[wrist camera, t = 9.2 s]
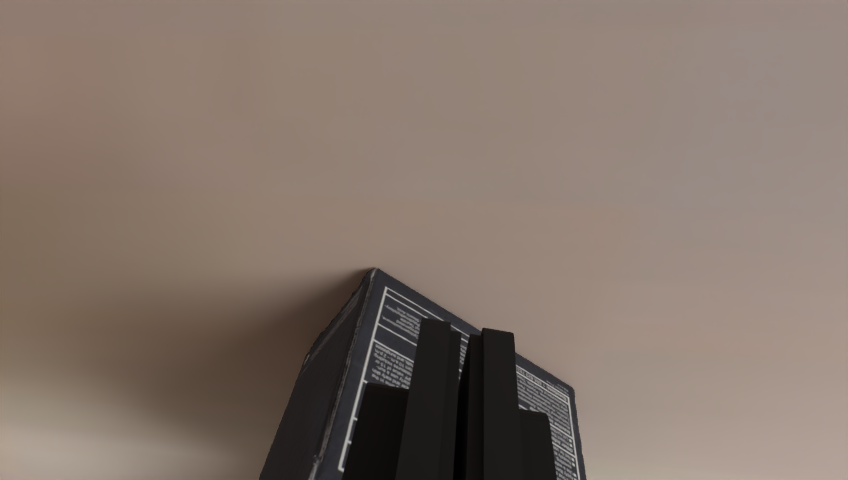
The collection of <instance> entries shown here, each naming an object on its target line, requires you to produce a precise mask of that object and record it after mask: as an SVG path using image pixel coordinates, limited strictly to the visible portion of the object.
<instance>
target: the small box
mask: <svg viewBox="0 0 848 480" xmlns="http://www.w3.org/2000/svg"><path fill="white" fill-rule="evenodd" d="M422 317H424V318H430V319H436V320H442V321H447V322H451V330H452V331H458V332H461V350H460V367H459V380H460V376H461V371H462V367H463V362H464V358H465V353H466V349H467V344H468V340H469V336H470V334H476V335H481V331H479V330H478V329H476V328H475V327H473V326H471V325H470V324H468V323H467V322H465V321H463V320H462V319H460V318H458V317H457V316H455V315H454V314H452V313H450V312H448V311H447V310H445V309H444V308H442V307H440V306H439V305H437V304H435V303H434V302H432V301H430V300H429V299H427V298H426V297H424V296H423V295H421V294H419V293H418V292H416V291H414V290H413V289H411V288H409V287H408V286H406V285H405V284H403V283H401V282H399V281H398V280H396V279H394V278H393V277H391V276H389V275H388V274H386V273H384V272H383V271H381V270H380V269H374V270H371V271H370V272H367V274H366V276H365V277H364V278H363V279H362V281H361V283H360V286H359V288H358V289H357V290H356V291H355V292H353V293H352V297H351V298H350V299H349V300H348V302H347V303H346V304H345V306H344V307H343V308H342V309H341V311H340V313H339V314H338V315H337V316H336V318H334V319H333V320H332V321H331V323H330V325H329V326H328V327H327V328H326V330H325V331H324V332H322V333H321V334H320V335H319V337H318V338H317V339H316V341H315V343H314V344H313V346H312V348H311V350H310V351H309V353H308V354H307V355H306V357H305V359H304V362H303V365H302V368H301V371H300V373H299V376H298V379H297V381H296V384H295V386H294V389H293V392H292V395H291V397H290V400H289V403H288V405H287V407H286V410H285V413H284V415H283V418H282V421H281V423H280V425H279V428H278V430H277V433H276V436H275V439H274V442H273V444H272V446H271V449H270V451H269V454H268V457H267V459H266V462H265V465H264V467H263V470H262V472H261V474H260V478H259V480H342V476H343V472H344V468H345V464H346V460H347V456H348V452H349V449H350V445H351V441H352V437H353V433H354V429H355V425H356V421H357V418H358V414H359V410H360V406H361V402H362V398H363V394H364V391H365V387H366V384H367V382H371V383H376V384H382V385H388V386H394V387H399V388H405V389H409V387H410V381H411V375H412V369H413V364H414V358H415V352H416V347H417V341H418V335H419V330H420V324H421V318H422ZM515 358H516V373H517V387H518V401H519V408H520V409H525V410H531V411H537V412H543V413H546V414H547V415H548V417H549V422H550V429H551V436H552V444H553V452H554V460H555V468H556V475H557V480H586V474H585V466H584V459H583V455H582V446H581V440H580V434H579V427H578V419H577V410H576V404H575V392H574V389H573V388H572V387H571V386H569V385H567V384H566V383H564V382H562V381H561V380H559V379H558V378H556V377H554V376H553V375H551V374H550V373H548V372H546V371H545V370H543V369H541V368H540V367H538V366H536V365H535V364H533V363H532V362H530V361H529V360H527V359H525V358H524V357H522V356H520V355H519V354H517V353H516V352H515ZM458 385H459V384H458Z"/></svg>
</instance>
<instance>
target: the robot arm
mask: <svg viewBox="0 0 848 480" xmlns="http://www.w3.org/2000/svg"><path fill="white" fill-rule="evenodd" d="M460 350H461V332H458V331H452V330H451V322H447V321H442V320H436V319H430V318H424V317H422V318H421V324H420V330H419V335H418V341H417V347H416V352H415V358H414V364H413V369H412V375H411V381H410V387H409V389H405V388H399V387H394V386H388V385H382V384H376V383H371V382H367V384H366V387H365V391H364V394H363V398H362V402H361V406H360V410H359V414H358V418H357V421H356V425H355V429H354V433H353V437H352V441H351V445H350V449H349V452H348V456H347V460H346V464H345V468H344V472H343V476H342V480H557V475H556V468H555V460H554V452H553V444H552V436H551V429H550V422H549V417H548V415H547V414H546V413H543V412H537V411H531V410H525V409H520V408H519V401H518V387H517V373H516V358H515V344H514V334H513V333H511V332H505V331H499V330H494V329H488V328H483V329H482V332H481V335H476V334H470V336H469V340H468V344H467V349H466V353H465V358H464V362H463V367H462V371H461V376H460V380H459V367H460ZM458 384H459V385H458Z"/></svg>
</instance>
